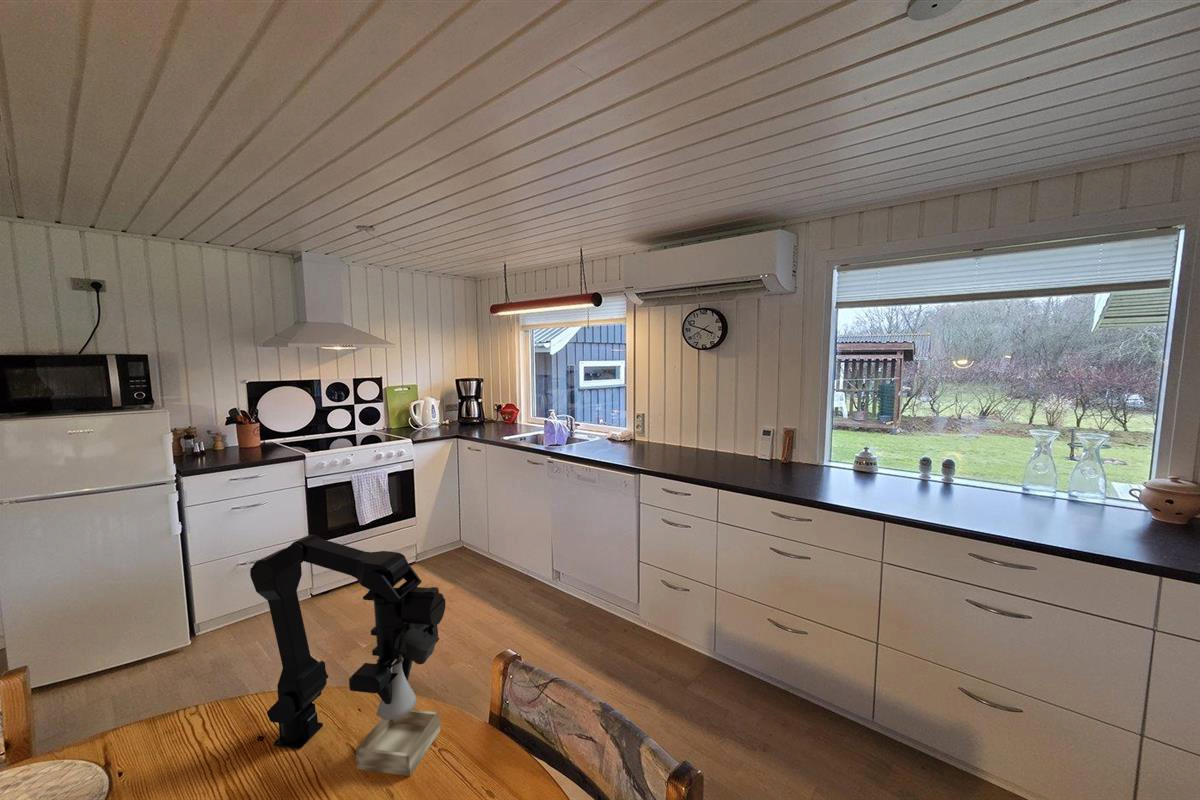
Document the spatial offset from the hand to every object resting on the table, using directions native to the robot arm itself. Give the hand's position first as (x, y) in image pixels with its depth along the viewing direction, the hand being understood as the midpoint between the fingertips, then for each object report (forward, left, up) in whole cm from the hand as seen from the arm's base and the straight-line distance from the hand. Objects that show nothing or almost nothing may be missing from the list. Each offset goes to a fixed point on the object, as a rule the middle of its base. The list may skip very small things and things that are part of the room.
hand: (396, 694), depth 95 cm
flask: (0, 0, -3) cm, 3 cm away
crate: (0, 0, -12) cm, 12 cm away
